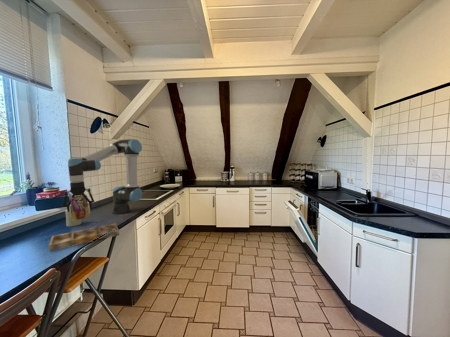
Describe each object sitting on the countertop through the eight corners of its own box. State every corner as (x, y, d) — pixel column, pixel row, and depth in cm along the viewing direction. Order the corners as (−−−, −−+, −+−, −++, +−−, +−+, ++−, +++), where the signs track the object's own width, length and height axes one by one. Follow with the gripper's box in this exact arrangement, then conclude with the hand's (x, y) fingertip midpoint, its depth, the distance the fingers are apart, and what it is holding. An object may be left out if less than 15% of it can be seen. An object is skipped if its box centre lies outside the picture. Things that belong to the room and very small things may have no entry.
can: (73, 226, 143) (72, 210, 142) (62, 225, 145) (61, 209, 144) (84, 222, 152) (83, 207, 151) (74, 221, 154) (73, 206, 153)
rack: (115, 228, 140) (115, 223, 139) (119, 235, 127) (119, 230, 127) (52, 241, 120) (51, 235, 119) (49, 251, 107) (48, 245, 107)
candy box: (87, 215, 138) (85, 194, 136) (89, 217, 135) (87, 195, 134) (71, 219, 131) (69, 196, 130) (73, 220, 128) (71, 197, 127)
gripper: (96, 179, 140) (99, 209, 142) (55, 182, 127) (59, 216, 129) (97, 180, 134) (100, 212, 136) (54, 184, 121) (58, 219, 123)
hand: (80, 214), depth 133 cm, fingers closed on candy box, 9 cm apart
